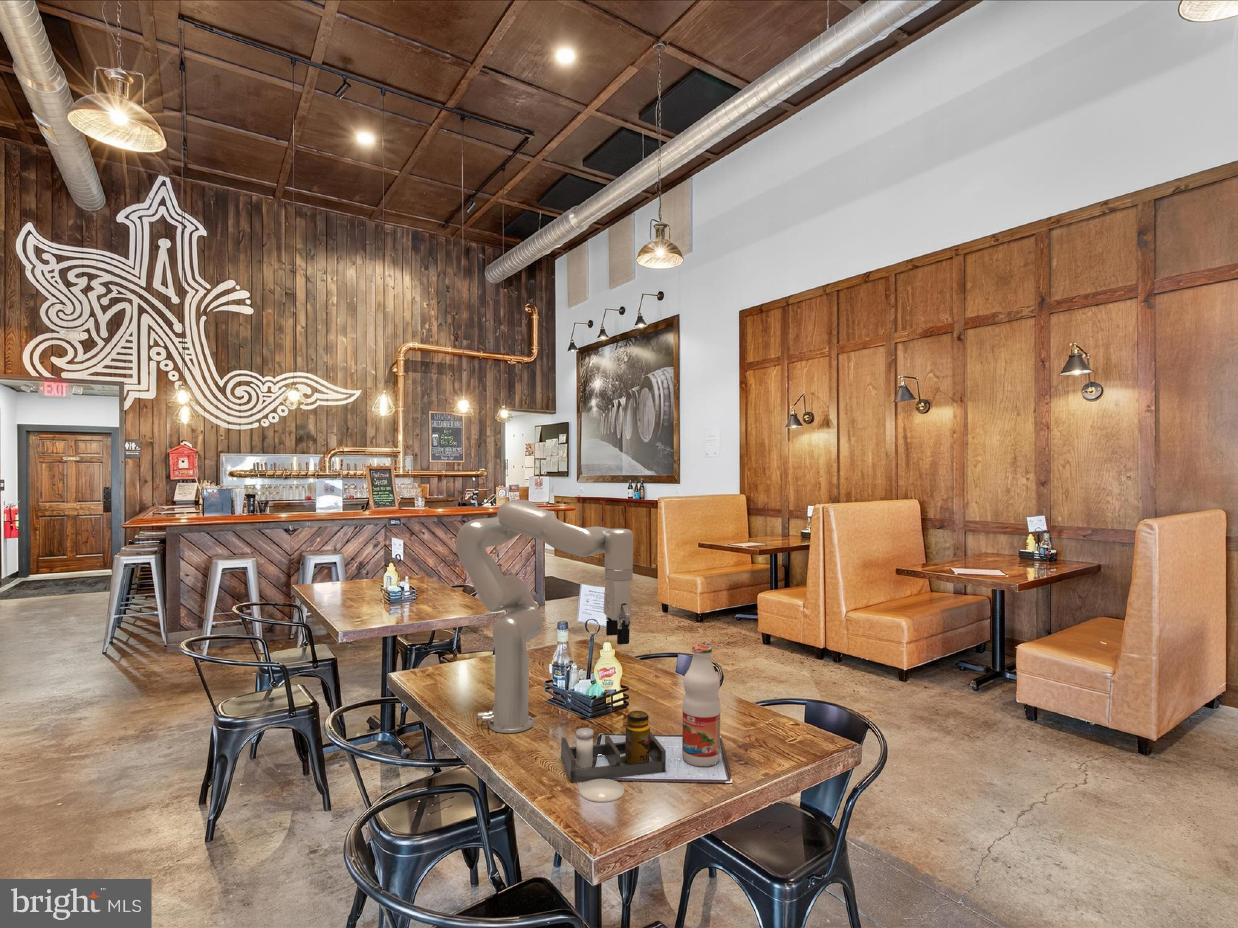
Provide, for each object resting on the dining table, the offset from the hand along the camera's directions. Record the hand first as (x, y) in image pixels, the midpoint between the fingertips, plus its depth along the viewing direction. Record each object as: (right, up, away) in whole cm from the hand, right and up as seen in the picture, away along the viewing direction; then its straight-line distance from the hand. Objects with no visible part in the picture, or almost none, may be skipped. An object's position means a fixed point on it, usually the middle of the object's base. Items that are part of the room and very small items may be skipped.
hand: (617, 639), depth 167 cm
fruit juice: (+21, -27, -10) cm, 36 cm away
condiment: (+4, -27, -13) cm, 30 cm away
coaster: (-3, -26, -27) cm, 38 cm away
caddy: (-1, -27, -14) cm, 30 cm away
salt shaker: (-8, -27, -14) cm, 31 cm away
